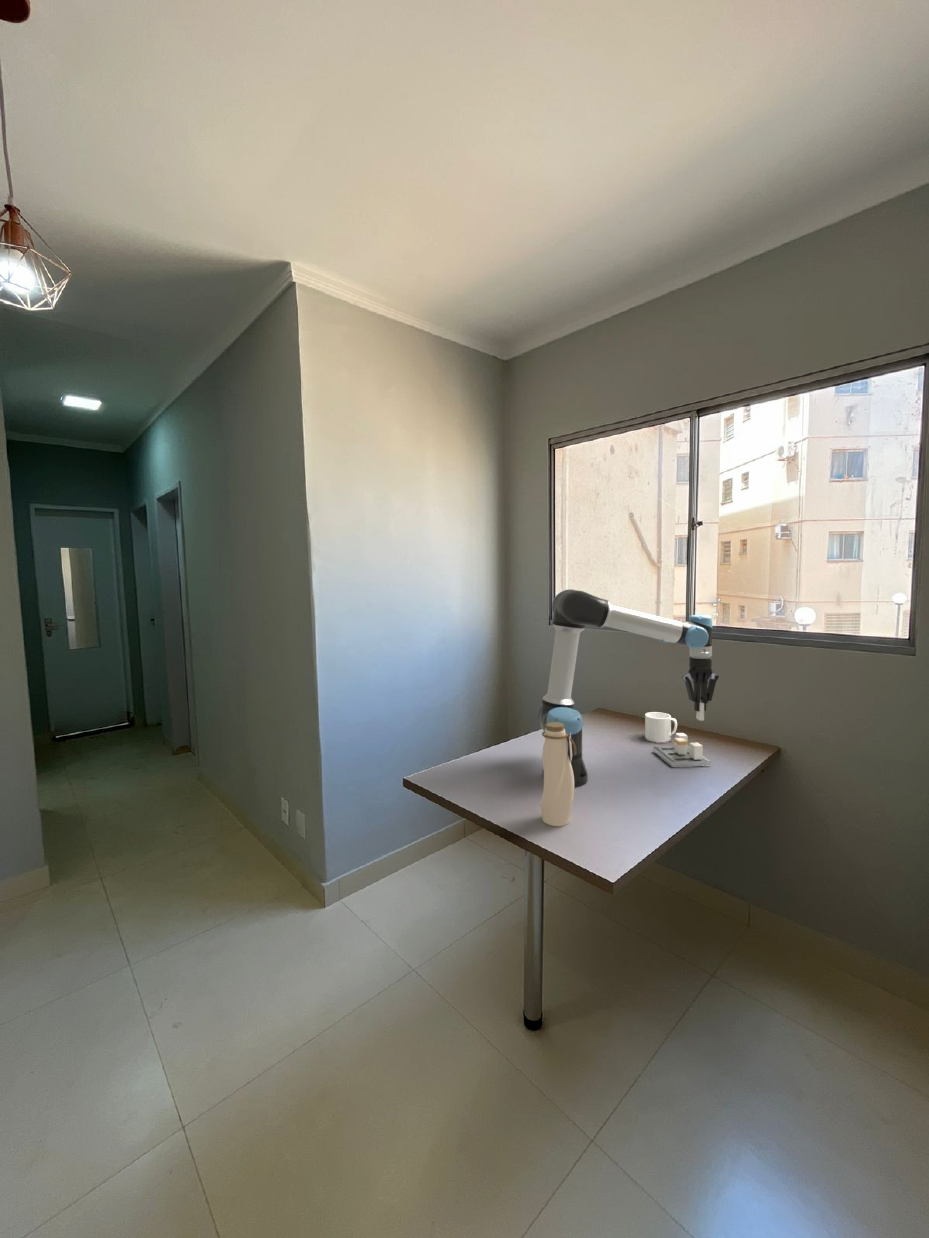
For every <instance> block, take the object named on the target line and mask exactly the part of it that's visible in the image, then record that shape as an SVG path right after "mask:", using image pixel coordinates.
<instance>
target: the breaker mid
mask: <svg viewBox="0 0 929 1238" xmlns="http://www.w3.org/2000/svg"><path fill="white" fill-rule="evenodd" d="M674 751H675V752H676V753H678V754H687V741H686V740H685V739H683V738H675V737H674Z"/></svg>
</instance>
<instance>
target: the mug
mask: <svg viewBox="0 0 929 1238" xmlns="http://www.w3.org/2000/svg"><path fill="white" fill-rule="evenodd" d="M644 716H645V717H644V729H645V730H644V738H646V739H649V740H651V741H656V742H666V741H669V740H670V739H671V740H672V736H673V735H675V734H676V733H677V732H676V731H677V729H678V722H677V719H676V718H674V717H672V716H671V714H669V713H665V712H660V711H659V712H658V711H651V712H650V711H649V712H646V713H645V715H644ZM672 722H673V723H674V727H673V730H672ZM646 739H645V740H646ZM671 740H670V741H671Z"/></svg>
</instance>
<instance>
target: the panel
mask: <svg viewBox="0 0 929 1238" xmlns="http://www.w3.org/2000/svg"><path fill="white" fill-rule="evenodd" d="M674 746H675V745H674ZM674 746H673V745H672V746H671V745H670V746H653V747H652V752H653V754H655V753H656V754H657V755H658V756H660V757H661V758H660V757H659V758H660V759H661V760H662V761H663V760H664V761H665V762H664V761H663V762H664V763H665V764H667V763H668V764H669V765H670V766H671V767H670V766H669V765H668V764H667V765H668V766H669V767H670V768H672V767H680V768H692V767H691V766H703V765H704V766H703V767H707V766H706V765H710V766H711V760H710V759H708V758H707V757H706V756H704V755H703V759H698V760H694V759H693V758H691V757H690V756H689V753H690V745H688V749H687V754H678V753H676V752H675V751H674ZM656 754H655V755H656ZM657 755H656V756H657Z"/></svg>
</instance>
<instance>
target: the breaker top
mask: <svg viewBox="0 0 929 1238" xmlns="http://www.w3.org/2000/svg"><path fill="white" fill-rule="evenodd" d="M688 737H689V736H688V735H687V734H686V733H684V732H675V737H674V739H675V738H683V739H685V740H686V741H687V749H688V746H689V745H688V744H689V743H688V742H689V739H688Z"/></svg>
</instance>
